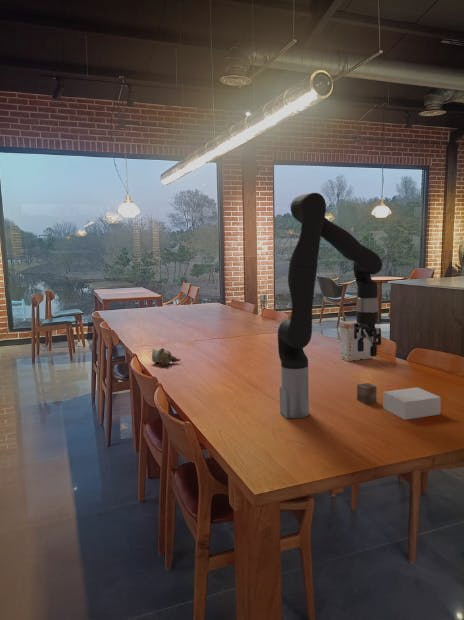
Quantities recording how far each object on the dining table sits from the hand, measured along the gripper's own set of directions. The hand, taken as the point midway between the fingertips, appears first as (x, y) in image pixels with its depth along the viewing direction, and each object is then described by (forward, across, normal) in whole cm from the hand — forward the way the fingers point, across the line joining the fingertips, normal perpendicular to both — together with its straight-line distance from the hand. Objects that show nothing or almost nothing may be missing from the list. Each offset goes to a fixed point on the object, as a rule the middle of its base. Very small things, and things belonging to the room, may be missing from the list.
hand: (366, 353), depth 171 cm
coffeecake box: (+18, -59, +31) cm, 69 cm away
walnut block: (+18, 0, 0) cm, 18 cm away
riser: (+18, +15, +8) cm, 25 cm away
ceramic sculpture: (+19, -89, -63) cm, 110 cm away
